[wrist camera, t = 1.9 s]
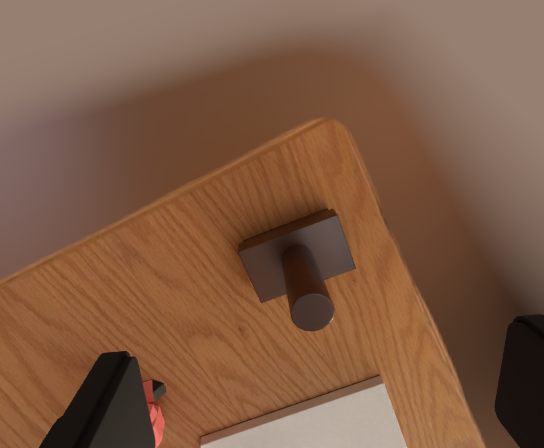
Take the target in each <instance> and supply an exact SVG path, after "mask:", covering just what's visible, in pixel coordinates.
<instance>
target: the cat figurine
mask: <svg viewBox="0 0 544 448" xmlns="http://www.w3.org/2000/svg"><path fill="white" fill-rule="evenodd" d="M143 387H144V391H145V396H146V400H147V404H148V409H149V413H150V417H151V422H152V426H153V430H154V435H155V442H156V445H155V448H157V447H158V445H159V444H160V442H161V441H162V435H163V430H164V424H165V420H164V418H163V414H162V412H161V409H160V407H159V406H157V405H154V404H150V403H151V402H155V401H156V400H157V399H158V398H159V397H160V396H162V395H163V394H164V393H165V392H166V389H165V386H164V384H163V383H160V382H157V381H155V380H149V381H146V382H143Z"/></svg>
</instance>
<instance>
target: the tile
mask: <svg viewBox="0 0 544 448" xmlns="http://www.w3.org/2000/svg"><path fill="white" fill-rule="evenodd" d="M200 447H201V448H407V446H406V443H405V440H404V438H403V435H402V432H401V429H400V426H399V424H398V421H397V418H396V415H395V412H394V410H393V407H392V404H391V401H390V398H389V396H388V393H387V390H386V387H385V384H384V382H383V380H382V378H381V376H377V377H374V378H371V379H368V380H365V381H363V382H360V383H357V384H354V385H351V386H348V387H345V388H342V389H339V390H336V391H333V392H330V393H328V394H325V395H322V396H319V397H316V398H313V399H310V400H307V401H304V402H301V403H298V404H296V405H293V406H290V407H287V408H284V409H281V410H278V411H275V412H272V413H269V414H266V415H264V416H261V417H258V418H255V419H252V420H249V421H246V422H243V423H240V424H237V425H234V426H232V427H229V428H226V429H223V430H220V431H217V432H214V433H211V434H208V435H205V436H202V437H201V441H200Z"/></svg>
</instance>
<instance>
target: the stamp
mask: <svg viewBox="0 0 544 448" xmlns="http://www.w3.org/2000/svg"><path fill="white" fill-rule="evenodd" d="M238 254H239V256H240V258H241V260H242V262H243V265H244V267H245V269H246V271H247V273H248V275H249V278H250V280H251V282H252V284H253V286H254V288H255V291H256V293H257V295H258V297H259V299H260V302H261V303H263V302H266V301H269V300H271V299H274V298H277V297H280V296H282V295H285V294H287V297H288V303H289V308H290V314H291V318H292V321H293V322H294V324H295V325H296V326H297V327H299V328H300V329H302V330H305V331H317V330H320V329H323V328H324V327H326V326H327V325H328V324H329V323H330V322H331V320H332V319H333V316H334V305H333V302H332V300H331V297H330V295H329V292H328V290H327V287H326V285H325V282H324V280H326V279H328V278H331V277H334V276H337V275H339V274H342V273H345V272H347V271H350V270H353V269H355V268H356V267H355V264H354V261H353V258H352V255H351V252H350V250H349V247H348V244H347V241H346V238H345V235H344V232H343V229H342V226H341V223H340V220H339V217H338V215H337V213H336V212H335V211H334V210H333V209H331V210H328V209H325V210H322V211H319V212H317V213H314V214H312V215H309V216H306V217H304V218H301V219H299V220H296V221H293V222H291V223H288V224H286V225H283V226H280V227H278V228H275V229H273V230H270V231H267V232H265V233H262V234H259V235H257V236H254V237H252V238H249V239H246V240H244V243H242V244H239V248H238Z"/></svg>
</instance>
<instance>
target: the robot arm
mask: <svg viewBox="0 0 544 448" xmlns="http://www.w3.org/2000/svg"><path fill="white" fill-rule="evenodd" d="M495 412H496V415H497V417H498V419H499V421H500V422H501V424H502V425H503V426H504V428H505V429H506V430H507V431H508V433H509V434H510V435H511V437H512V438H513V439H514V440H515V442H516V443H517V444H518V446H519V447H520V448H544V315H541V314H537V315H526V316H518V317H516V318H515V319H514V320H513V323H510V325H509V326H508V329H507V335H506V341H505V347H504V353H503V359H502V365H501V371H500V377H499V383H498V388H497V395H496V400H495ZM155 445H156V442H155V435H154V430H153V426H152V422H151V417H150V413H149V409H148V404H147V400H146V396H145V391H144V387H143V383H142V378H141V374H140V370H139V365H138V361H137V358H136V357H130V355H129V353H128V352H127V351H121V352H109V353H103V354H101V355H100V356H99V358H98V359H97V361H96V362H95V364H94V366H93V367H92V369H91V371H90V372H89V374H88V375H87V377H86V379H85V380H84V382H83V384H82V385H81V387H80V389H79V390H78V392H77V393H76V395H75V397H74V398H73V400H72V402H71V403H70V405H69V406H68V408H67V410H66V411H65V413H64V415H63V416H62V417H60V418H59V419H57V421H56V422H55V423H54V425H53V426H52V428H51V429H50V431H49V432H48V434H47V435H46V437H45V439H44V440H43V442H42V443H41V445H40V447H39V448H155Z"/></svg>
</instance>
